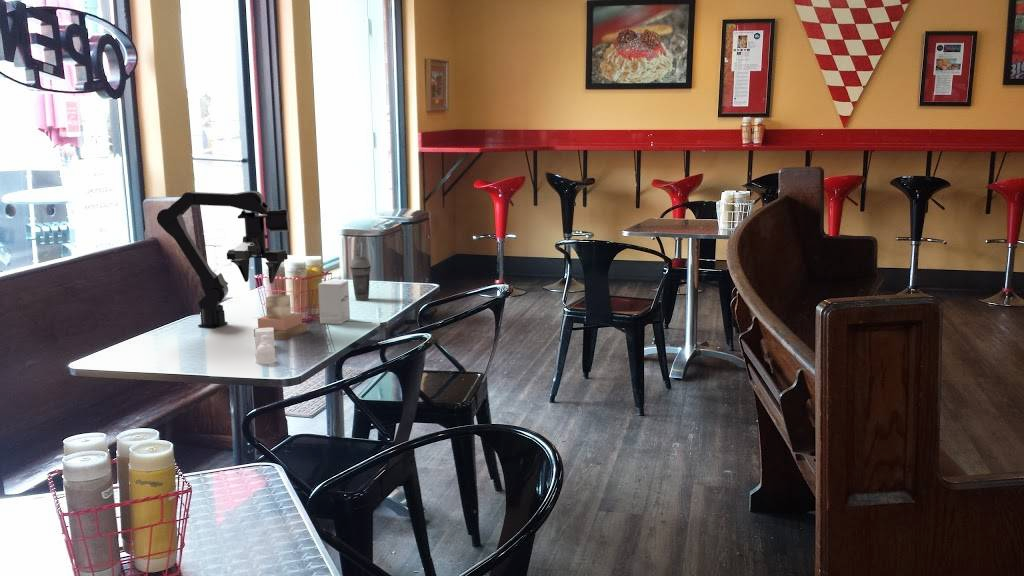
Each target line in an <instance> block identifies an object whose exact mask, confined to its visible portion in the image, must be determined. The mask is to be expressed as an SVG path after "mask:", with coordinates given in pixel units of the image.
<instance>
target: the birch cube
mask: <svg viewBox="0 0 1024 576" xmlns="http://www.w3.org/2000/svg"><path fill="white" fill-rule="evenodd" d="M265 309H266V311H265V312H266V315H267V318H279V319H282V318H284V317H287V316H290V315H291V313H292V310H291V309H292V308H291V295H289V294H272V295H269V296H266V297H265Z"/></svg>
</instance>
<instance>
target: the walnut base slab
mask: <svg viewBox="0 0 1024 576" xmlns="http://www.w3.org/2000/svg"><path fill="white" fill-rule="evenodd" d="M256 328H257V327H255V328H254V329H253V332H254V333H253V334H254V335H253V336H254V338H255V329H256ZM308 331H309V329H308V323H306V322H302V324H300V325H297V326H295V327H292V328H290V329H287V330H285V331H283V330H274V340H285V341H286V340H289V339H291V338H293V337H297V336H299V335H301V334H303V333H306V332H308Z"/></svg>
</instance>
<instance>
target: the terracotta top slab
mask: <svg viewBox="0 0 1024 576" xmlns="http://www.w3.org/2000/svg"><path fill="white" fill-rule="evenodd" d="M302 318H303V317H302V313H296V312H295V313H292V312H291V315H290V316H287V317H284V318H282V319H279V318H267V314H266V315H264V316H261V317H257V328H269V327H270V328H271V327H273V330H283V331H285V330H287V329H290V328H292V327H295V326H297V325H300V324H302V323H303V322H302Z"/></svg>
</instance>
